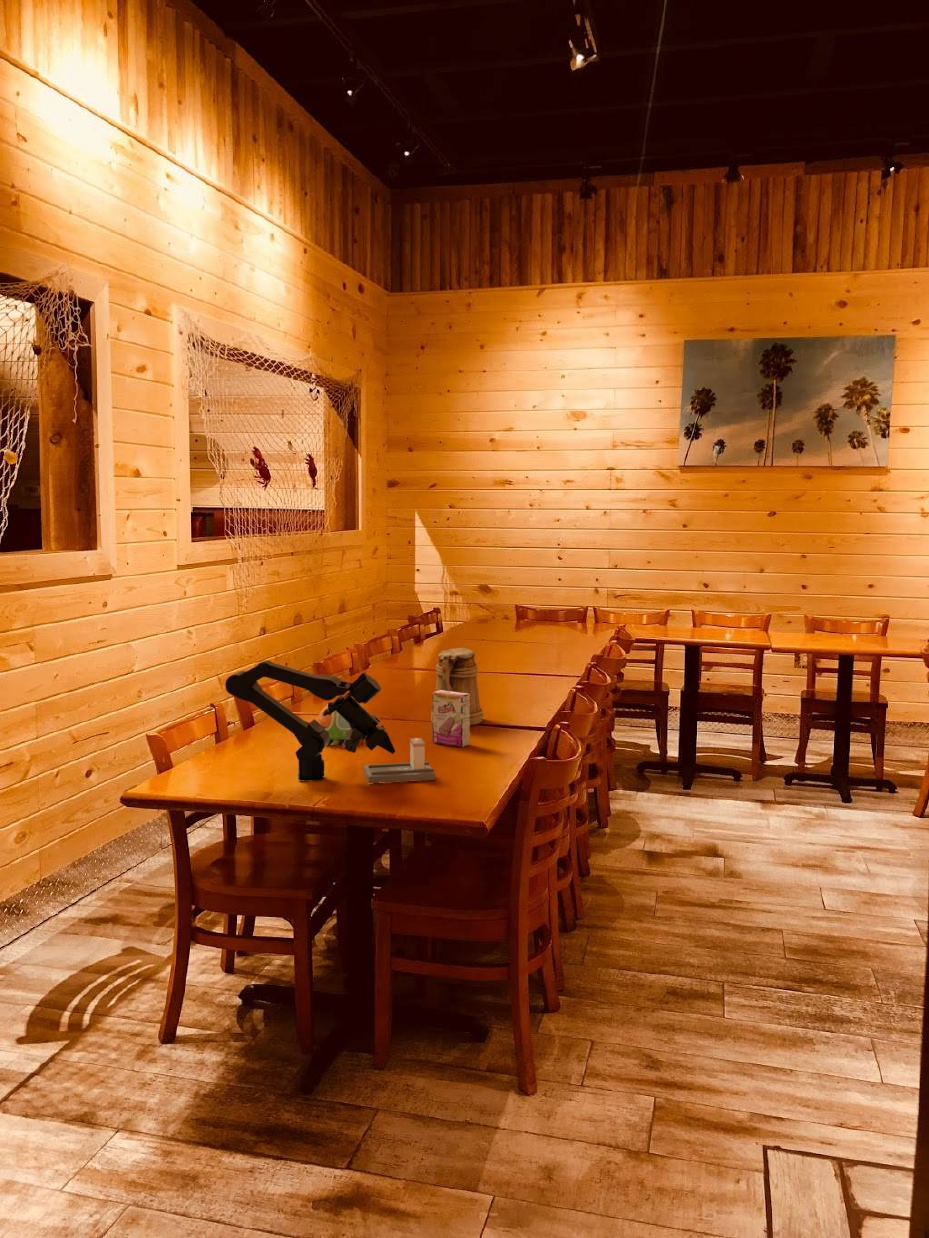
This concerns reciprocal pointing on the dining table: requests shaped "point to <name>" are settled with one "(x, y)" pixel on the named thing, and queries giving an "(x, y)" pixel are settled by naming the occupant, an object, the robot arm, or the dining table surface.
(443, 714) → the candy bar box
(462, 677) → the tankard
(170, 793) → the dining table surface
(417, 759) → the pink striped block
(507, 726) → the dining table surface
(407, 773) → the toy road segment
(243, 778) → the dining table surface
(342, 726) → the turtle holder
